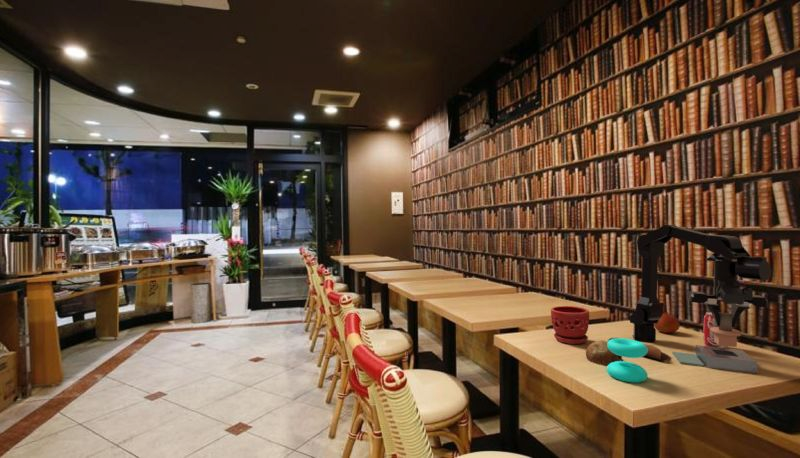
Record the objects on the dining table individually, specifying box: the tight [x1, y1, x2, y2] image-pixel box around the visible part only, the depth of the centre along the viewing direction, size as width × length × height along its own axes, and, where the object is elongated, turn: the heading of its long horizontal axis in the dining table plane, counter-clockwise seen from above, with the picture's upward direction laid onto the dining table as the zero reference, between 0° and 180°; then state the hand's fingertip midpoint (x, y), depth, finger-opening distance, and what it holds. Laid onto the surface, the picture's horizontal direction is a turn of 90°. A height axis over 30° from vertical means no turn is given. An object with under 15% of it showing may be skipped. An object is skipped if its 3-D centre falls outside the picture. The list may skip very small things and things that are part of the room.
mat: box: [672, 351, 705, 368], centre depth 126 cm, size 6×11×1 cm, turn 156°
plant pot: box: [550, 305, 590, 345], centre depth 147 cm, size 13×13×12 cm
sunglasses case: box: [607, 337, 672, 363], centre depth 133 cm, size 18×7×7 cm, turn 31°
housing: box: [695, 344, 758, 374], centre depth 122 cm, size 12×12×4 cm
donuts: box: [606, 337, 648, 384], centre depth 112 cm, size 10×10×10 cm
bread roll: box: [585, 340, 624, 366], centre depth 126 cm, size 10×10×8 cm
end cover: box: [711, 312, 742, 348], centre depth 122 cm, size 7×7×9 cm
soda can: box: [702, 311, 729, 349], centre depth 139 cm, size 7×7×12 cm
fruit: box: [654, 312, 681, 334], centre depth 159 cm, size 9×9×8 cm
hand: (725, 326), depth 122 cm, fingers closed on end cover, 3 cm apart
